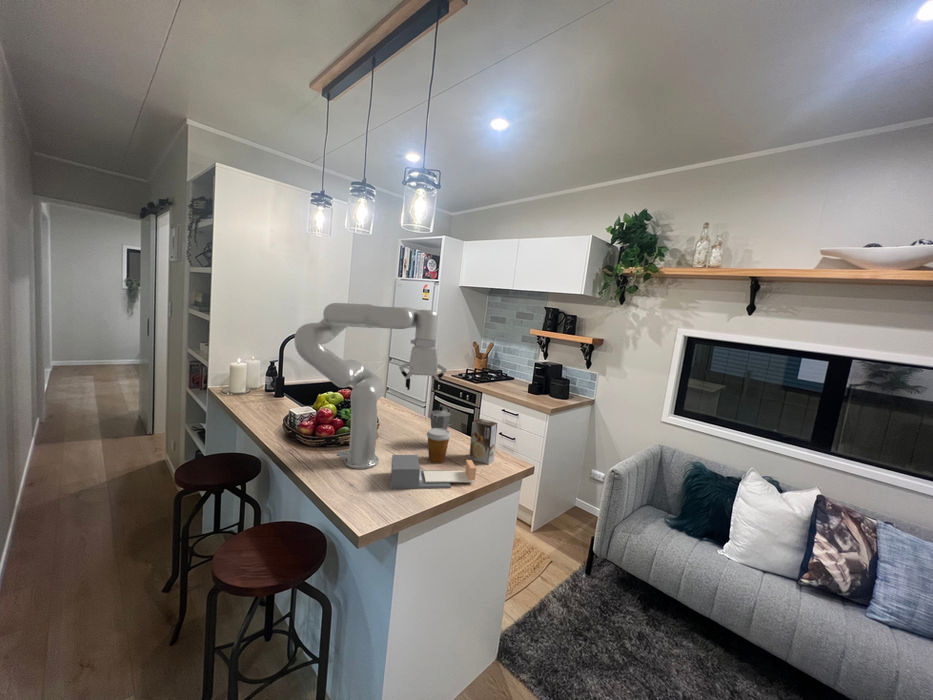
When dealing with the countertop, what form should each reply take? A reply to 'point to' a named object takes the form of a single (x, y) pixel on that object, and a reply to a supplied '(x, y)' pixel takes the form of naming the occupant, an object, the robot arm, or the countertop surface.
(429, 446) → the disposable coffee cup
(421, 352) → the robot arm
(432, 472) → the sliding tray
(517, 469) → the countertop surface
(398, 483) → the dispenser
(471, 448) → the coffee box
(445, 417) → the coffeepot
